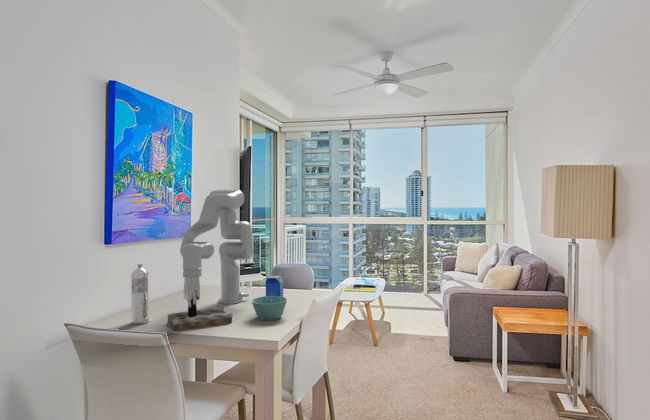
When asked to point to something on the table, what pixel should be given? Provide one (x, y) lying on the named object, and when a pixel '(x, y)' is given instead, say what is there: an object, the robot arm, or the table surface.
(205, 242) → the robot arm
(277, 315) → the bowl
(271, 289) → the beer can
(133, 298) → the water bottle
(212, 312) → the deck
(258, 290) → the table surface
